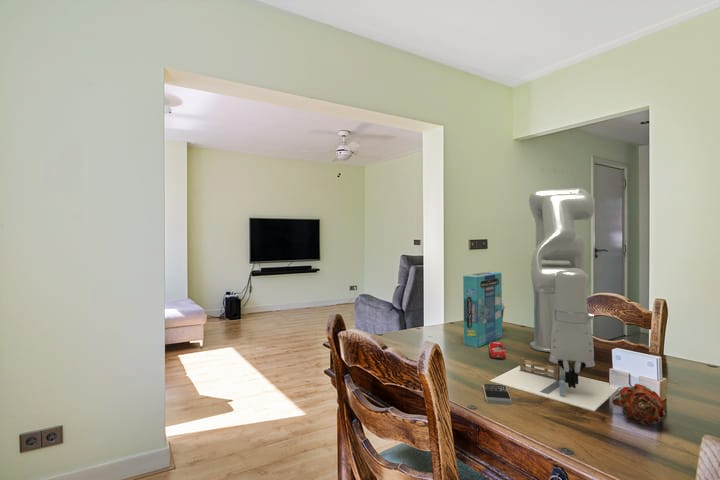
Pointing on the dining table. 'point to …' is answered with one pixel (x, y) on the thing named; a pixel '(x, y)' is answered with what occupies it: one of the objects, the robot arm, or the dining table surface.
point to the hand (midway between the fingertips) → (571, 385)
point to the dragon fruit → (640, 404)
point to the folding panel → (562, 382)
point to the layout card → (583, 396)
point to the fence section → (545, 366)
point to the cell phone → (496, 394)
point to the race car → (497, 350)
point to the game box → (482, 308)
